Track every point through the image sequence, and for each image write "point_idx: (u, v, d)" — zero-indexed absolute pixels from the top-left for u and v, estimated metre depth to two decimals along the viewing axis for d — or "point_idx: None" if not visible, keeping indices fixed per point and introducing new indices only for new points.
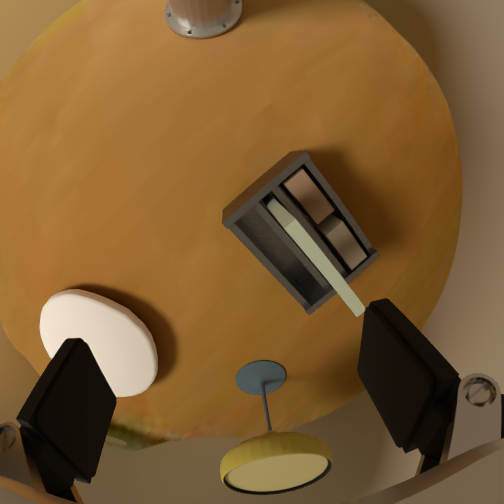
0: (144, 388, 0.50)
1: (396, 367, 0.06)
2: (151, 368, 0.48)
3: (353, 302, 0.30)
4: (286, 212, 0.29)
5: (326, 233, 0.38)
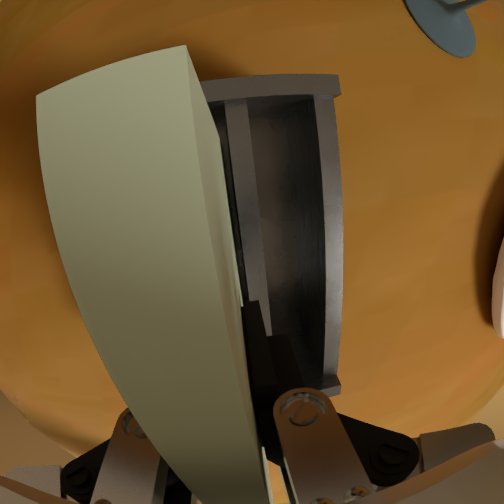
0: None
1: None
2: None
3: (136, 311, 0.02)
4: None
5: None
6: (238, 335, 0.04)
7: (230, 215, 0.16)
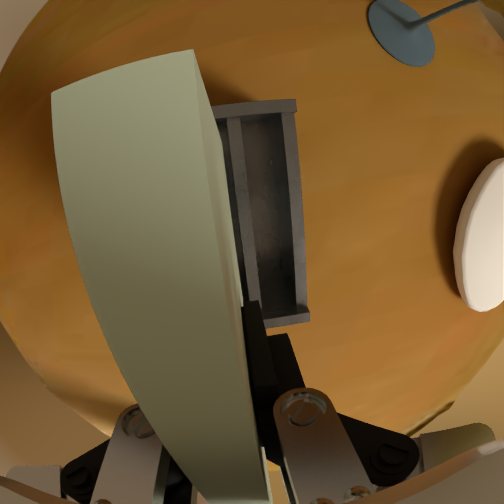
0: None
1: None
2: (494, 179, 0.26)
3: (143, 296, 0.03)
4: None
5: None
6: (238, 325, 0.05)
7: (230, 213, 0.16)
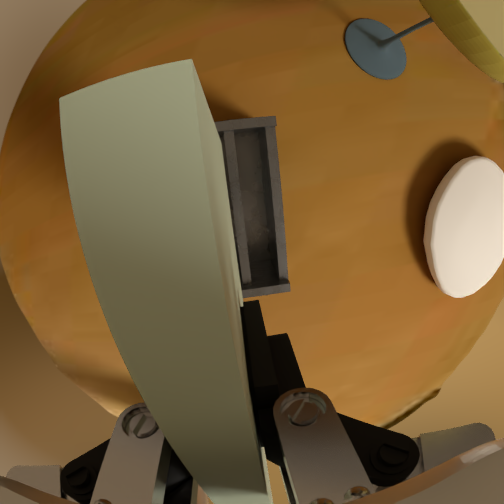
0: (481, 161, 0.33)
1: None
2: (460, 175, 0.33)
3: (146, 287, 0.03)
4: None
5: None
6: (236, 319, 0.05)
7: None
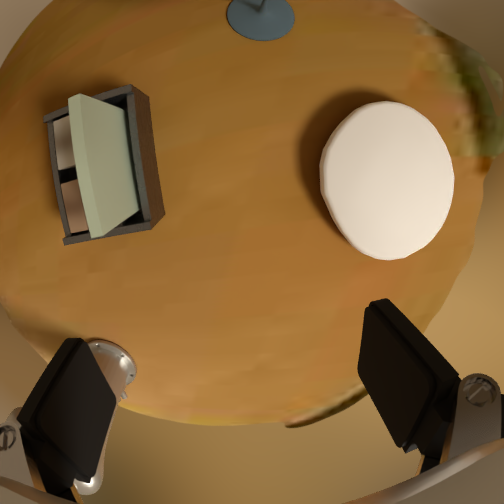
0: (388, 104, 0.35)
1: (396, 367, 0.06)
2: (356, 119, 0.36)
3: (74, 116, 0.20)
4: None
5: None
6: (90, 129, 0.22)
7: (130, 140, 0.33)
